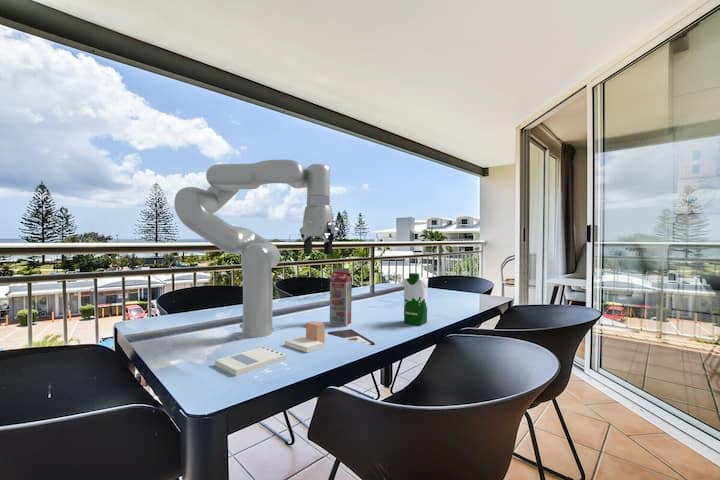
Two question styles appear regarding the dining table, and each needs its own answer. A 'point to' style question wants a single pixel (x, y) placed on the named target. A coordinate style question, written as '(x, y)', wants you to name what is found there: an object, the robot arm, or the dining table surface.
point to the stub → (309, 338)
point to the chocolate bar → (351, 336)
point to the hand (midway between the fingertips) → (317, 253)
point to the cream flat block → (249, 360)
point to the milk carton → (415, 299)
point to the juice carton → (340, 297)
